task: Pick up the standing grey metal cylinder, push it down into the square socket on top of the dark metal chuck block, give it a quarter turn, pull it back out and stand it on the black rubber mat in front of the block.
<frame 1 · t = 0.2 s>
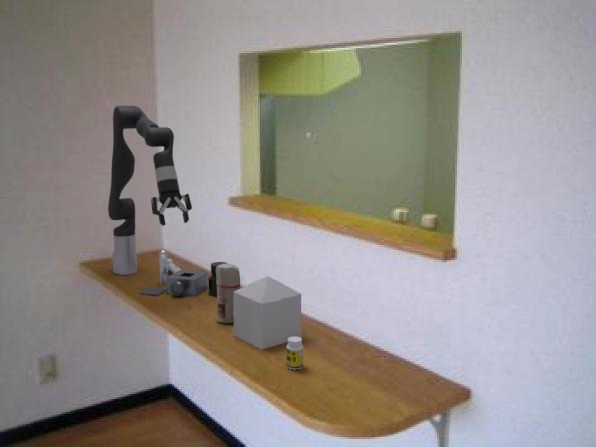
hand: (175, 223, 215), 31 cm above the counter, tool tilted 20°, fingers open, 8 cm apart
supplement bottle: (294, 367, 170), on the counter
chuck block: (187, 290, 240), on the counter
white elongated piece: (176, 278, 259), on the counter
key rest mat: (153, 292, 238), on the counter
ink bottle: (220, 293, 237), on the counter
spray can: (229, 321, 206), on the counter
decorative block: (266, 336, 192), on the counter
grey metal cylinder: (164, 284, 248), on the counter
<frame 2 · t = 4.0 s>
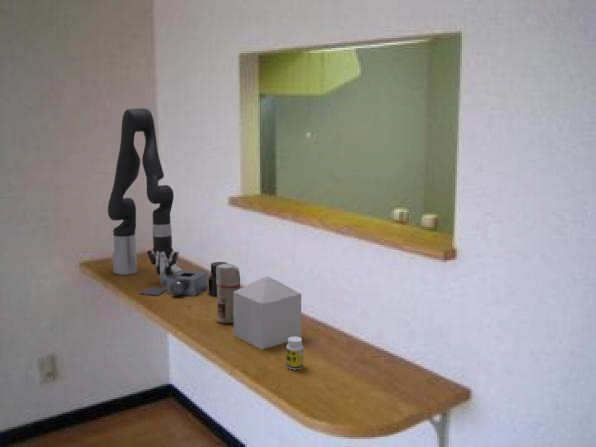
hand: (163, 274, 248), 4 cm above the counter, tool pointing down, fingers closed on grey metal cylinder, 3 cm apart
grey metal cylinder: (164, 284, 248), on the counter, touching gripper
everything else where it was.
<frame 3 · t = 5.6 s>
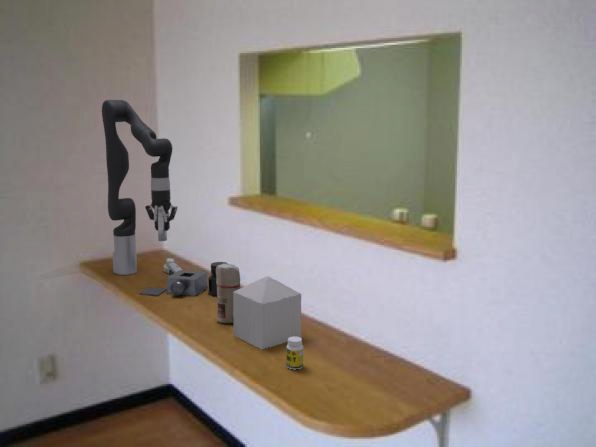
hand: (162, 230, 244), 23 cm above the counter, tool pointing down, fingers closed on grey metal cylinder, 3 cm apart
grey metal cylinder: (162, 240, 245), point 19 cm above the counter, touching gripper
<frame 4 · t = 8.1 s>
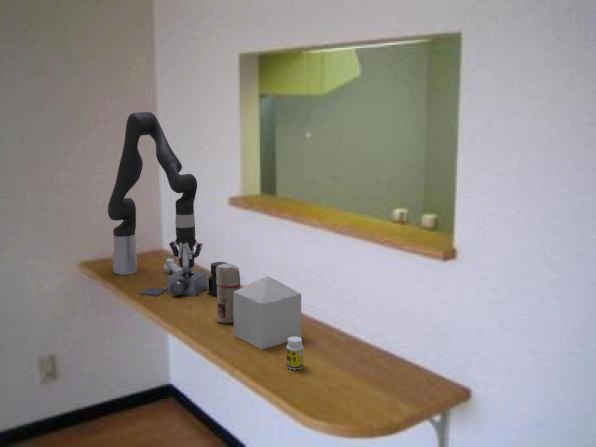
hand: (186, 267, 238), 10 cm above the counter, tool pointing down, fingers closed on grey metal cylinder, 3 cm apart
grey metal cylinder: (187, 277, 239), point 5 cm above the counter, touching gripper
everything else where it was.
when the fingers open (6 cm above the counter, at t = 16.1 s): grey metal cylinder drops 1 cm, resting on key rest mat.
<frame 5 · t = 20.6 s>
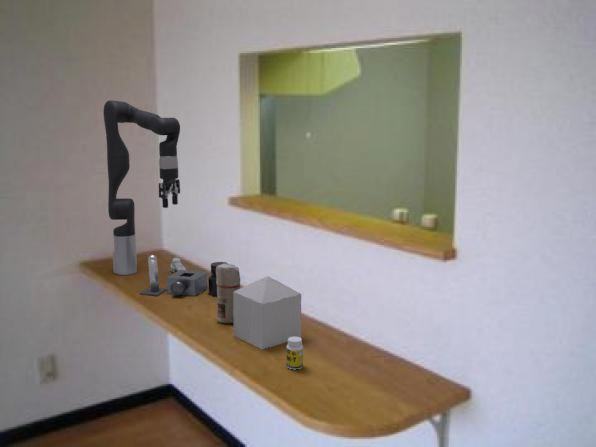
hand: (170, 206, 248), 32 cm above the counter, tool pointing down, fingers open, 8 cm apart
white elongated piece: (181, 278, 259), on the counter
grey metal cylinder: (154, 290, 238), point 1 cm above the counter, touching key rest mat
everything else where it was.
at the end: grey metal cylinder inside the target area on the key rest mat (0.6 cm from its centre), point 0.7 cm above the key rest mat's base; grey metal cylinder tilted 2°; the gripper is holding nothing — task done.
